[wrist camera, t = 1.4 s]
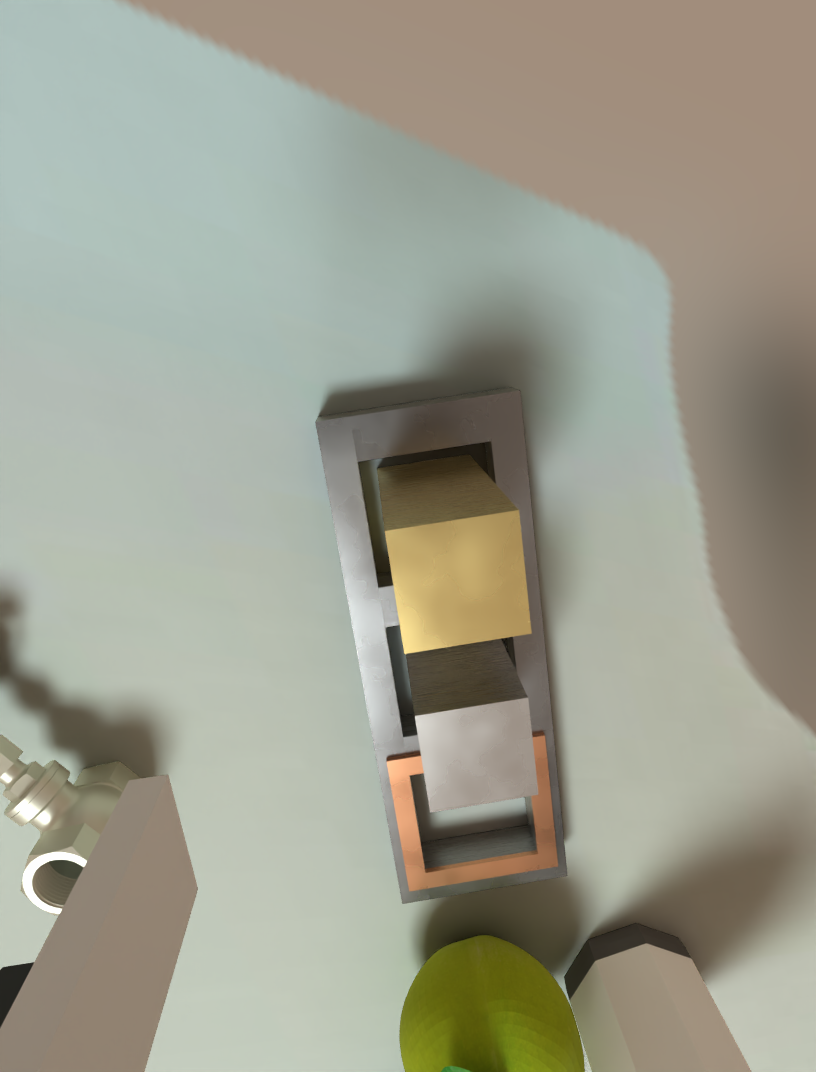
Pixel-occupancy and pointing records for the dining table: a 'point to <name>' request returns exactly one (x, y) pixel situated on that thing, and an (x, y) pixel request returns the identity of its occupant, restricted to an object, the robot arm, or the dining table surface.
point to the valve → (58, 818)
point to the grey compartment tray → (374, 608)
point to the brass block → (453, 554)
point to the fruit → (487, 1013)
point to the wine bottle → (647, 1007)
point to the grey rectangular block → (472, 725)
